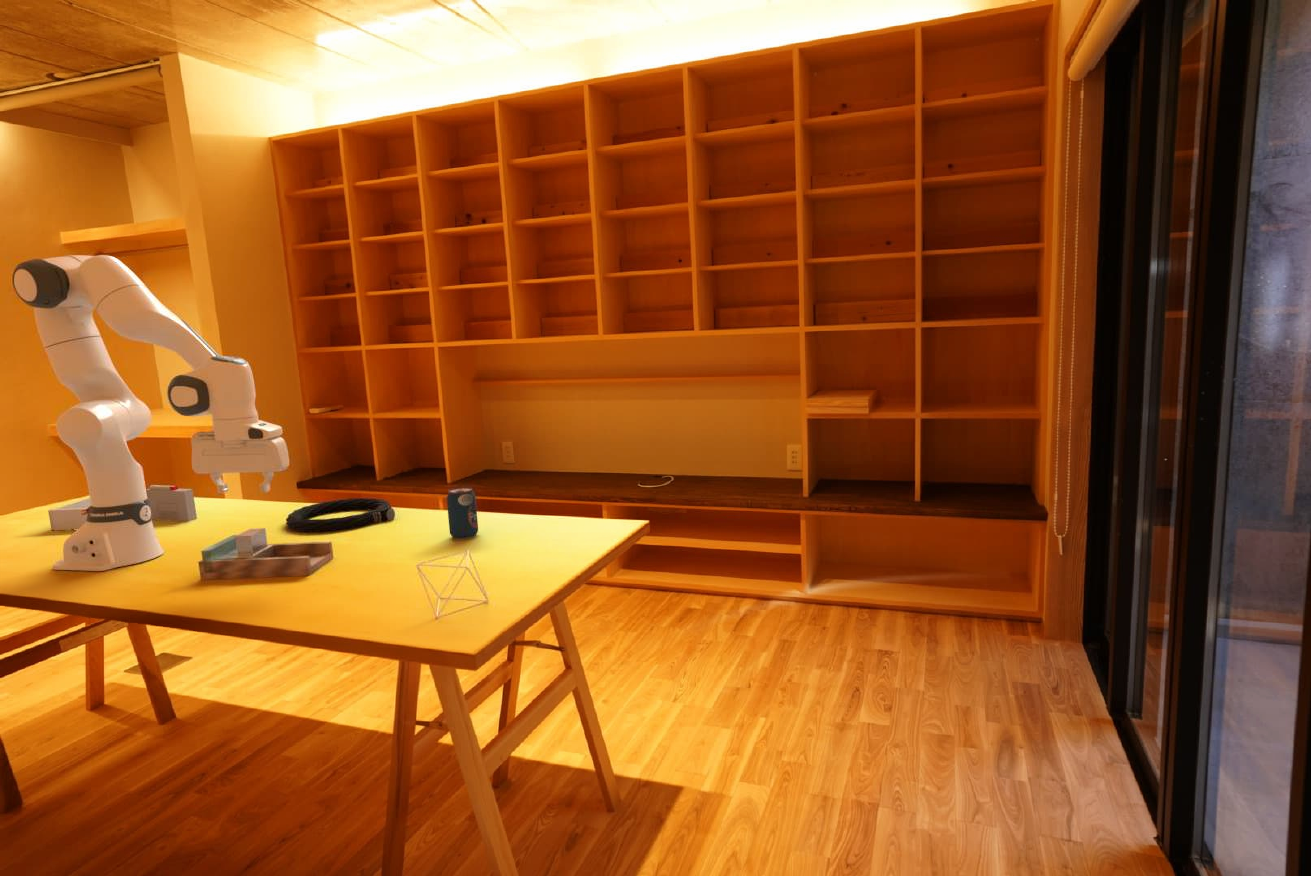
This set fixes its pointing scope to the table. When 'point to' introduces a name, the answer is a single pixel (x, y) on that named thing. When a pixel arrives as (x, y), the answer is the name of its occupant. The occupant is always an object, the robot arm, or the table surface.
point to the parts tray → (69, 515)
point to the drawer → (265, 560)
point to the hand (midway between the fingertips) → (244, 491)
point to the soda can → (462, 513)
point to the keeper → (250, 546)
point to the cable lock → (378, 514)
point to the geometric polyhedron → (449, 581)
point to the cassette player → (171, 503)
